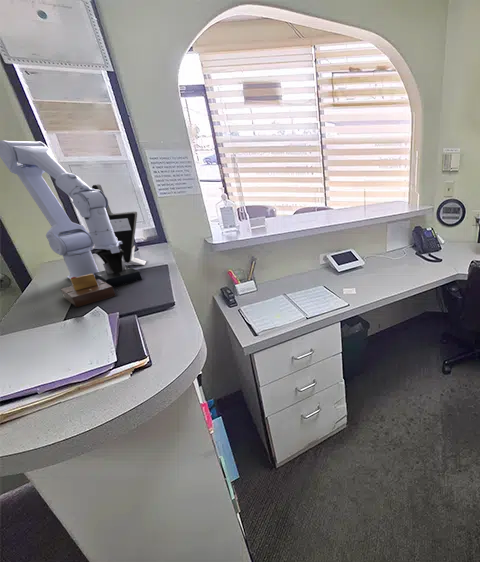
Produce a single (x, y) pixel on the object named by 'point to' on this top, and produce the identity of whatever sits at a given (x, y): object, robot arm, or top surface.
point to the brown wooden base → (88, 293)
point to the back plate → (119, 277)
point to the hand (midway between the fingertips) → (116, 271)
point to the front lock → (83, 281)
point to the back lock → (109, 270)
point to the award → (124, 232)
